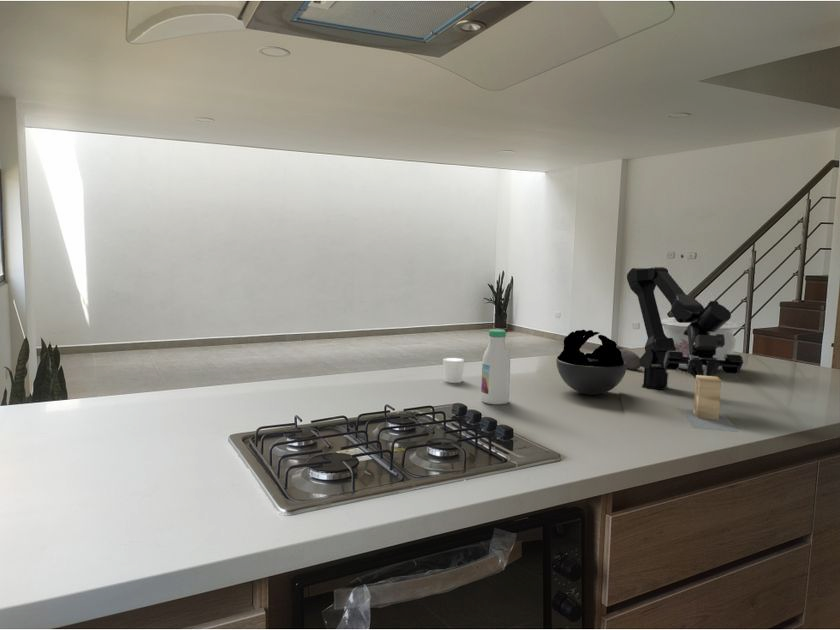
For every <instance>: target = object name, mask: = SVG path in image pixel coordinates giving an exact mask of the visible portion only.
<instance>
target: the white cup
mask: <svg viewBox="0 0 840 630" xmlns="http://www.w3.org/2000/svg"><path fill="white" fill-rule="evenodd" d="M442 364H443V378H444V379H443V380H444V382H445V383H449V384H450V383H451V384H452V383H453V384H454V383H455V384H459V383H462V382H463V377H464V369H465V358H462V357H461V358H460V357H445V358H443V359H442Z"/></svg>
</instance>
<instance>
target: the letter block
mask: <svg viewBox="0 0 840 630" xmlns="http://www.w3.org/2000/svg"><path fill="white" fill-rule="evenodd" d="M721 390H722V380H721V379H720V378H719V377H718V376H717V375H716V376H715V375H711V376H703V375H696V379H695V383H694V398H693V409H692V410H693V413H694V414H695V416H696V417H697V418H707V419H718V418H719V412H720V407H721V406H720V404H721V395H722V394H721V392H722V391H721Z"/></svg>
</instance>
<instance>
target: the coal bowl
mask: <svg viewBox="0 0 840 630" xmlns="http://www.w3.org/2000/svg"><path fill="white" fill-rule="evenodd" d="M594 336H597V337H598V339H599V340H600V341H601V342H600V343H601V344H600V345H599V346H598V347H597V348H595V349H594V350H593V351H592V353H590V352H586V353H584V352H582V351H581V348H582V347H583V345H584V344H585V343H587V342H588V340H589V339H590V338H593V337H594ZM617 347H618V344H617V342H616V341H614V340H613V339H610V338H609V337H607V336H606V335H603V334H600V332H598V331H594V330H592V329H589V330H586V329H580V330H578V329H577V330H575V331H571V332H570V333H568V335H567V336H565V337H564V339H563V349H562V351H561V352H560V353H559V355H558V356H557V357H556V359H555V362H556V368H557V371H558V374H559V376H560V378H561V379H562V381H563V382H564V383H565V384H566V385H567V386H568V387H569V388H571V389H572V390H573V391H574V392H578V393H580V394H583V395H587V396H589V395H591V396H596V395H601V394H605V393H608V392H609V391H611V390H614V389H615V387H617V386H619V384H620V383H621V382H622V380H623V379H624V377H625V374H626V371H627V370H628V369H627V362H625V361H623V358H622V355H621V351H620V350H619V348H617Z"/></svg>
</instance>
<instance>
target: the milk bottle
mask: <svg viewBox="0 0 840 630" xmlns="http://www.w3.org/2000/svg"><path fill="white" fill-rule="evenodd" d="M506 336H507V331H506V330H505V329H494V328H493V329H489V331H488V339H489V342H488V345H487V347H486V349H485V351H484V354H483V356H482V368H481V389H480V390H481V391H480V392H481V393H480V397H481V398H480V400H481V402H482V403H485V404H489V405H497V406H499V405H507V404H508V403H509V401H510V391H511V390H510V389H511V388H510V385H511V357H510V353H509V351H508V348H507V346H506Z"/></svg>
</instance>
